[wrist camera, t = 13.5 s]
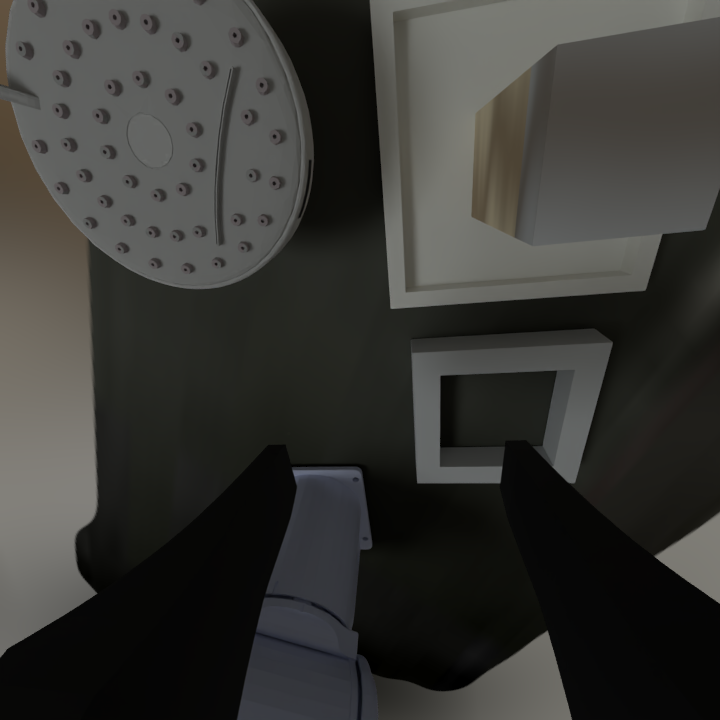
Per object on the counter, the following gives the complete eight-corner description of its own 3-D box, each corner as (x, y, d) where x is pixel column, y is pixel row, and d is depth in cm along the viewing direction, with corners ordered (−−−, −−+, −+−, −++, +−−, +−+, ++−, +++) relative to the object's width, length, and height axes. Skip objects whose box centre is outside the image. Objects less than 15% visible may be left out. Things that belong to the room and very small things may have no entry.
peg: (561, 207, 15) (704, 230, 8) (471, 216, 16) (532, 246, 9) (579, 97, 13) (783, 5, 6) (475, 113, 14) (557, 44, 7)
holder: (562, 462, 23) (574, 483, 21) (415, 463, 24) (417, 483, 23) (594, 328, 18) (613, 342, 17) (410, 339, 20) (412, 353, 18)
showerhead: (-120, -201, 7) (334, -28, 8) (125, -20, 13) (362, 67, 14) (-10, 244, 12) (270, 331, 12) (134, 222, 18) (313, 279, 18)
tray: (626, 282, 17) (645, 290, 16) (391, 299, 19) (390, 308, 17) (718, -63, 11) (760, -94, 10) (371, 4, 13) (368, -15, 12)
